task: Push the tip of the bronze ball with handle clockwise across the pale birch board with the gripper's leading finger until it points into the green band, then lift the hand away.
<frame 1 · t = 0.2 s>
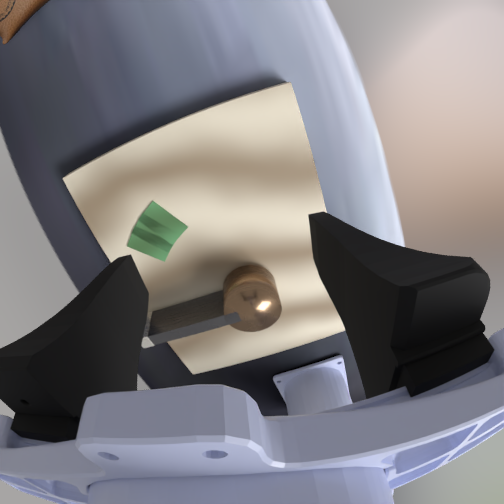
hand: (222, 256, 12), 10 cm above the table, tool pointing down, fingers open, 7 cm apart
dial board: (226, 258, 24), on the table
bronze ball with handle: (205, 312, 23), point 3 cm above the table, hinge at 90.0°
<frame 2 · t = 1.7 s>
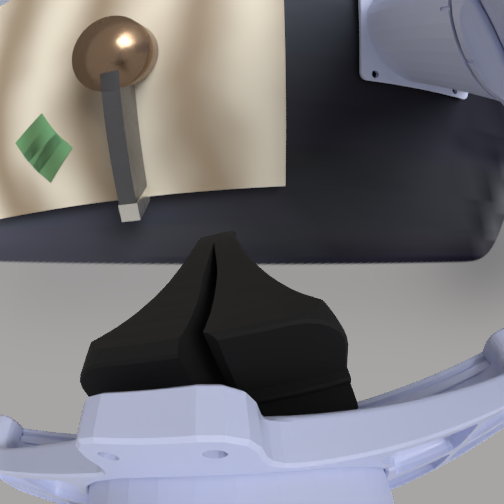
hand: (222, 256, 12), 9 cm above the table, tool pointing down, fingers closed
dial board: (102, 77, 15), on the table
bronze ball with handle: (122, 116, 14), point 3 cm above the table, hinge at 90.0°
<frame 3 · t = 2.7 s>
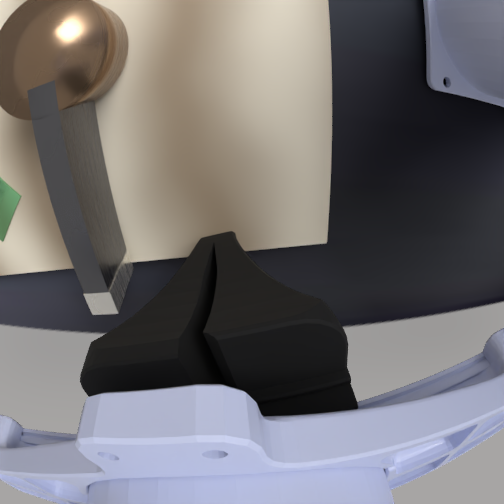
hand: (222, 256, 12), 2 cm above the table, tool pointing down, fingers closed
dial board: (54, 91, 10), on the table
bronze ball with handle: (74, 155, 9), point 3 cm above the table, hinge at 90.0°
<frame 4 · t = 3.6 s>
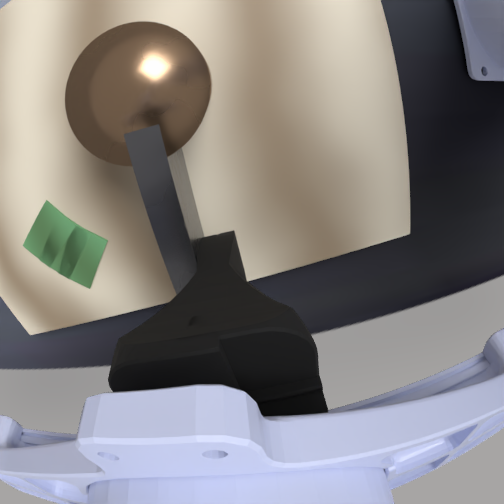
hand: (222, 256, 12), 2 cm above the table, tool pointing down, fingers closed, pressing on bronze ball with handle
dial board: (124, 127, 11), on the table
bronze ball with handle: (171, 196, 10), point 3 cm above the table, hinge at 84.0°, touching gripper
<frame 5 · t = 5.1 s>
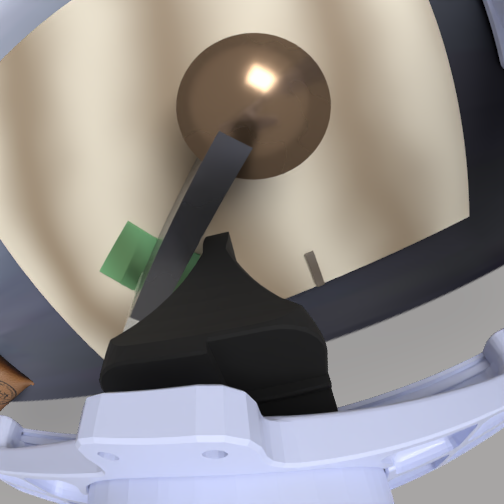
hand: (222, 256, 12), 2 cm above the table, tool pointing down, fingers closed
dial board: (206, 139, 12), on the table
bronze ball with handle: (195, 199, 10), point 3 cm above the table, hinge at 37.1°, touching gripper
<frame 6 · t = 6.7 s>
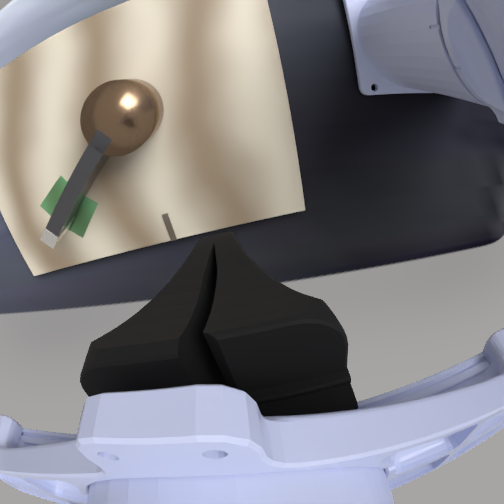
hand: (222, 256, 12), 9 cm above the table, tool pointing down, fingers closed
dial board: (113, 133, 18), on the table
bronze ball with handle: (90, 165, 16), point 3 cm above the table, hinge at 36.8°
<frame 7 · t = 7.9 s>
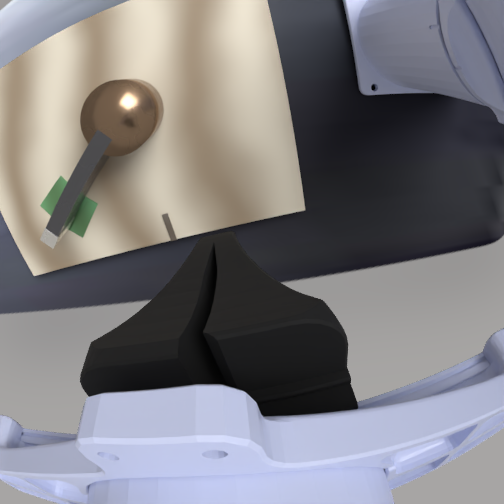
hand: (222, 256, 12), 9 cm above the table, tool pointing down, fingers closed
dial board: (113, 133, 18), on the table
bronze ball with handle: (90, 165, 16), point 3 cm above the table, hinge at 36.8°
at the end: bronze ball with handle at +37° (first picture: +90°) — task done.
